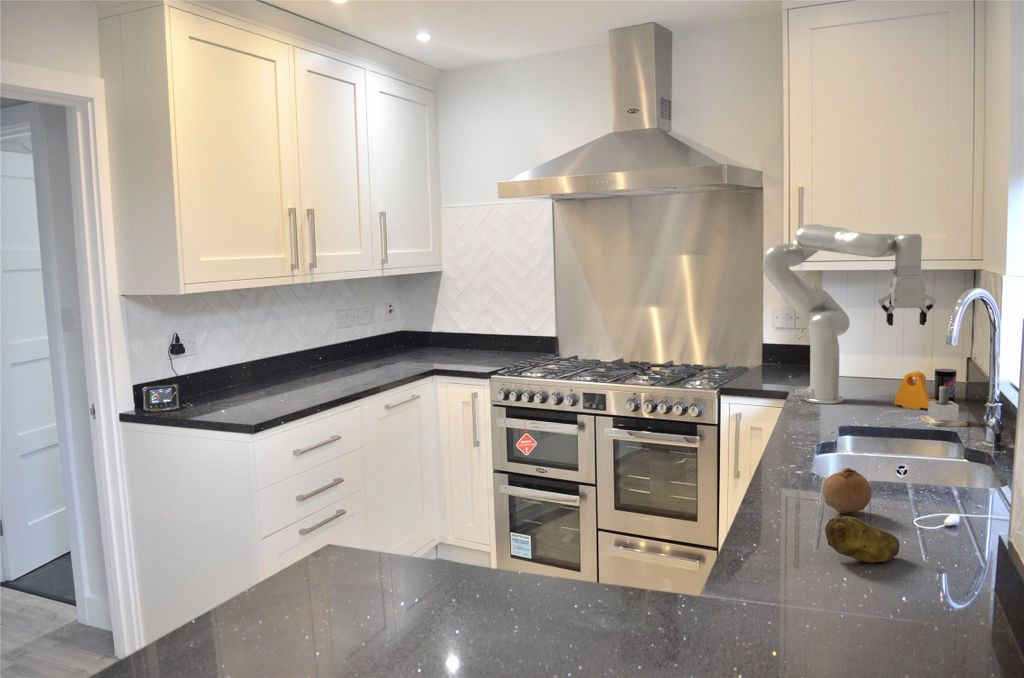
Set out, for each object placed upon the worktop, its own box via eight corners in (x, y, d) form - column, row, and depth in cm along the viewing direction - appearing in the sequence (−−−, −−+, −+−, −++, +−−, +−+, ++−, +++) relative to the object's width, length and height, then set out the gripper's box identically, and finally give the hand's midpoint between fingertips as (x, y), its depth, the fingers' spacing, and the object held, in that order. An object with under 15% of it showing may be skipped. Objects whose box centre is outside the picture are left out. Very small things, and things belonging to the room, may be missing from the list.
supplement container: (933, 400, 274) (933, 371, 273) (934, 397, 280) (935, 368, 278) (955, 402, 271) (956, 372, 269) (956, 398, 276) (957, 369, 275)
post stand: (930, 426, 239) (932, 390, 238) (920, 418, 249) (921, 384, 248) (967, 426, 237) (968, 390, 236) (954, 418, 247) (955, 384, 246)
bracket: (936, 407, 264) (937, 371, 263) (928, 411, 259) (929, 374, 258) (903, 403, 272) (904, 368, 271) (894, 406, 267) (895, 371, 266)
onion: (868, 524, 161) (869, 476, 160) (819, 517, 166) (820, 471, 165) (873, 509, 169) (874, 464, 168) (826, 504, 174) (826, 459, 173)
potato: (905, 572, 138) (907, 527, 137) (826, 566, 142) (827, 523, 141) (896, 553, 146) (897, 511, 145) (821, 548, 150) (822, 507, 149)
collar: (935, 421, 240) (935, 405, 240) (927, 416, 247) (928, 401, 246) (958, 421, 239) (958, 405, 239) (950, 416, 246) (951, 401, 245)
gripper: (882, 273, 254) (881, 326, 256) (940, 272, 251) (938, 326, 253) (876, 272, 261) (874, 324, 263) (932, 271, 258) (931, 323, 260)
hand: (906, 325), depth 258 cm, fingers open, 9 cm apart
